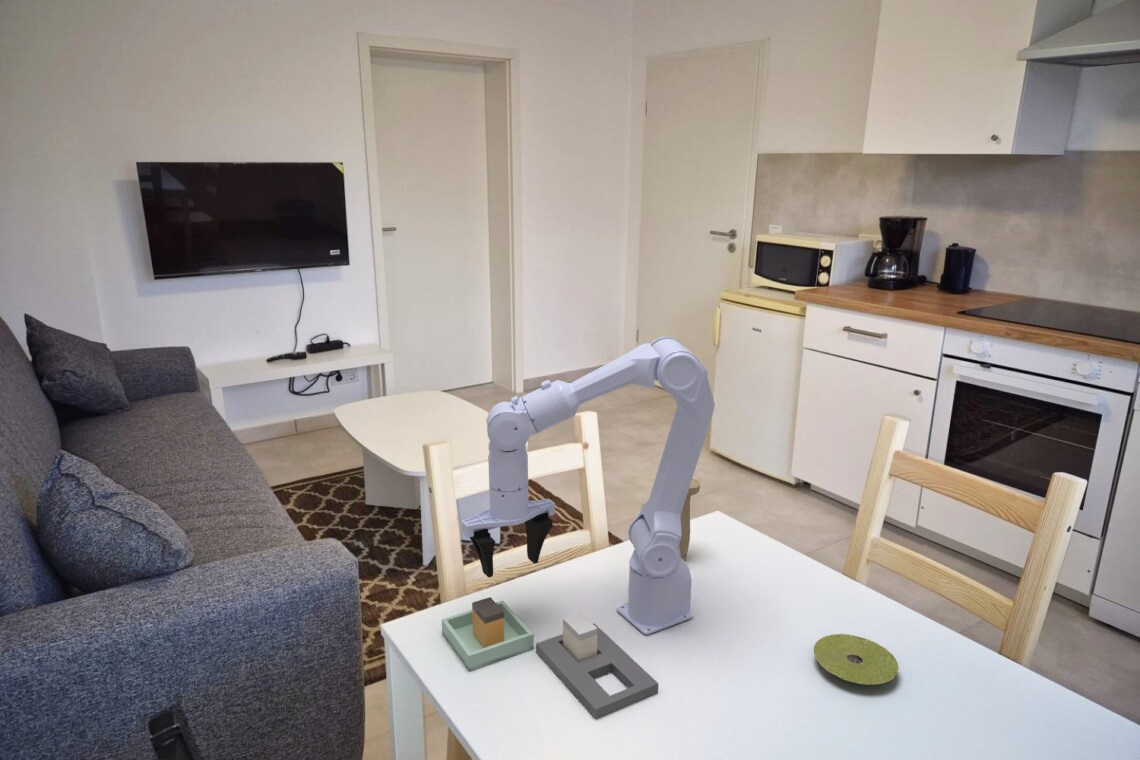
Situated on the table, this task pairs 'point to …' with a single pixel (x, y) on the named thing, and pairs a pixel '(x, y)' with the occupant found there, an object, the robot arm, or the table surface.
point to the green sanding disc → (855, 659)
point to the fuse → (579, 637)
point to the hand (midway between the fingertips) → (510, 567)
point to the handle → (687, 519)
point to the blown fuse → (487, 622)
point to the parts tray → (476, 656)
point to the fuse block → (598, 674)
